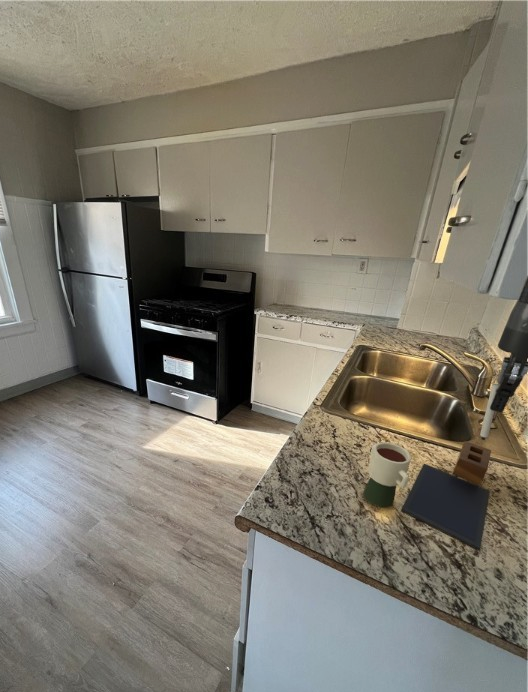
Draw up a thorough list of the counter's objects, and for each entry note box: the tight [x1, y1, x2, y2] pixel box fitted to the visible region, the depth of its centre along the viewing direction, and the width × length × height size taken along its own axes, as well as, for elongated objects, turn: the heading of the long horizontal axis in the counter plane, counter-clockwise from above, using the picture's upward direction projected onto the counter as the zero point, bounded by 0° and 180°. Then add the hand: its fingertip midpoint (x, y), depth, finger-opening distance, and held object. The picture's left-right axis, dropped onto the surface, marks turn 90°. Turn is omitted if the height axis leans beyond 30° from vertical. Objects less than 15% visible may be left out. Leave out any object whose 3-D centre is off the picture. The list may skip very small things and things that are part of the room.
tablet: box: [400, 463, 491, 551], centre depth 70 cm, size 20×14×1 cm
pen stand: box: [451, 440, 492, 486], centre depth 79 cm, size 10×6×5 cm, turn 140°
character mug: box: [363, 441, 412, 508], centre depth 67 cm, size 11×7×13 cm, turn 14°
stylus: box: [479, 383, 499, 441], centre depth 66 cm, size 1×1×13 cm
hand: (496, 408), depth 65 cm, fingers closed on stylus, 1 cm apart
